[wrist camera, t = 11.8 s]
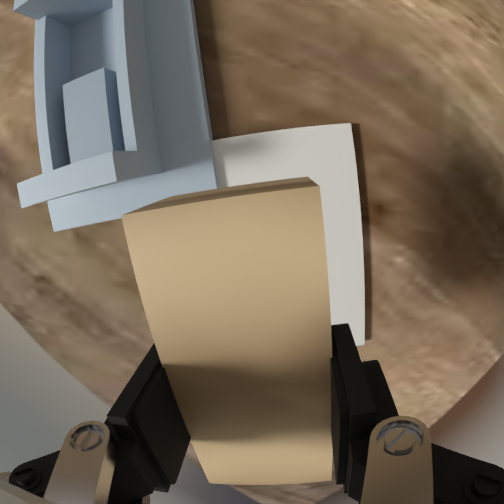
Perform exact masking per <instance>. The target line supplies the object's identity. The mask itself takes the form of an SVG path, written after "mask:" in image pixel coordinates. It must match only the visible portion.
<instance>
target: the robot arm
mask: <svg viewBox="0 0 504 504" xmlns="http://www.w3.org/2000/svg"><path fill="white" fill-rule="evenodd" d="M331 336H332V358H330V369H331V437H332V447H333V456H334V466H335V476H336V484H337V485H339V484H343V485H344V493H348V496H349V497H351V498H353V499H354V500H356V501H358V502H359V504H504V469H503V468H501V467H499V466H497V465H494V464H491V463H487V462H484V461H481V460H478V459H475V458H472V457H469V456H466V455H463V454H460V453H457V452H454V451H452V450H449V449H446V448H444V447H441V446H438V445H435V444H433V443H431V436H430V432H429V429H428V428H427V426H426V425H425V424H424V423H423V422H421V421H420V420H418V419H416V418H413V417H410V416H399V415H398V412H397V409H396V406H395V404H394V401H393V398H392V395H391V393H390V390H389V387H388V385H387V382H386V379H385V377H384V374H383V371H382V369H381V366H380V364H379V362H378V360H371V361H365V362H361V360H360V357H359V353H358V350H357V347H356V344H355V341H354V338H353V335H352V332H351V329H350V326H349V324H348V323H344V324H336V325H331ZM107 417H108V418H107V419H106V421H105V423H102V422H98V421H87V422H84V423H81V424H78V425H77V426H75V427H74V428H73V429H71V430H70V432H69V433H68V435H67V436H66V438H65V441H64V443H63V446H62V448H61V450H59V451H57V452H54V453H51V454H48V455H46V456H43V457H40V458H38V459H34V460H32V461H29V462H26V463H23V464H21V465H19V466H18V467H16V468H15V469H14V470H13V472H12V473H10V472H4V473H0V504H150V494H151V493H153V491H154V490H155V491H161V492H168V491H169V488H170V485H171V484H175V483H176V480H177V478H178V475H179V472H180V469H181V466H182V463H183V460H184V457H185V454H186V451H187V448H188V445H189V442H190V439H191V437H190V434H189V432H188V429H187V427H186V424H185V422H184V419H183V417H182V414H181V412H180V409H179V407H178V404H177V401H176V399H175V396H174V393H173V390H172V388H171V385H170V382H169V379H168V376H167V373H166V371H165V368H164V367H162V364H161V361H160V358H159V355H158V352H157V349H156V346H155V343H154V344H153V346H152V347H151V349H150V350H149V352H148V353H147V355H146V356H145V358H144V359H143V361H142V362H141V364H140V365H139V367H138V368H137V370H136V371H135V373H134V374H133V376H132V377H131V379H130V381H129V382H128V384H127V385H126V387H125V388H124V390H123V391H122V393H121V394H120V396H119V397H118V399H117V400H116V402H115V404H114V405H113V407H112V408H111V410H110V411H109V413H108V414H107Z"/></svg>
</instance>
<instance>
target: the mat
mask: <svg viewBox="0 0 504 504" xmlns="http://www.w3.org/2000/svg"><path fill="white" fill-rule="evenodd" d="M211 142H212V148H213V155H214V161H215V167H216V174H217V180H218V186H219V188H224V187H231V186H238V185H245V184H252V183H259V182H267V181H275V180H283V179H291V178H299V177H309V178H310V179H311V180H313V181H314V182H315V183H317V184H318V185H319V186H320V194H321V203H322V212H323V222H324V232H325V243H326V255H327V267H328V281H329V296H330V314H331V325H336V324H344V323H348V324H349V326H350V329H351V332H352V335H353V338H354V341H355V344H356V346H358V345H364V342H365V285H364V255H363V236H362V221H361V208H360V196H359V186H358V176H357V167H356V158H355V150H354V142H353V135H352V128H351V123H344V124H331V125H320V126H310V127H301V128H292V129H284V130H276V131H268V132H261V133H254V134H248V135H241V136H235V137H229V138H223V139H218V140H212V141H211Z"/></svg>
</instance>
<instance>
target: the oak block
mask: <svg viewBox="0 0 504 504" xmlns="http://www.w3.org/2000/svg"><path fill="white" fill-rule="evenodd" d="M121 216H122V221H123V226H124V230H125V235H126V239H127V244H128V248H129V252H130V257H131V261H132V265H133V269H134V273H135V277H136V281H137V284H138V288H139V292H140V295H141V299H142V303H143V306H144V310H145V313H146V317H147V320H148V323H149V327H150V330H151V333H152V336H153V340H154V343H155V346H156V349H157V352H158V355H159V358H160V361H161V364H162V367H164V368H165V371H166V373H167V376H168V379H169V382H170V385H171V388H172V390H173V393H174V396H175V399H176V401H177V404H178V407H179V409H180V412H181V414H182V417H183V419H184V422H185V424H186V427H187V429H188V432H189V434H190V437H191V439H190V441H191V443H192V445H193V448H194V450H195V452H196V454H197V457H198V459H199V461H200V463H201V466H202V468H203V470H204V472H205V474H206V477H207V479H208V481H209V483H215V484H240V485H270V484H295V483H309V482H320V481H330V480H331V477H332V448H333V447H332V437H331V369H330V358H332V336H331V314H330V296H329V281H328V267H327V255H326V243H325V232H324V222H323V212H322V203H321V194H320V186H319V185H318V184H317V183H315V182H314V181H313V180H311V179H310V178H309V177H299V178H291V179H283V180H275V181H267V182H259V183H252V184H245V185H238V186H231V187H224V188H218V189H212V190H205V191H199V192H193V193H187V194H181V195H176V196H170V197H168V198H165V199H162V200H159V201H157V202H154V203H152V204H149V205H146V206H144V207H141V208H139V209H136V210H134V211H131V212H128V213H126V214H123V215H121Z"/></svg>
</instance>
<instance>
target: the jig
mask: <svg viewBox="0 0 504 504" xmlns="http://www.w3.org/2000/svg"><path fill="white" fill-rule="evenodd" d="M13 11H15V12H18V13H20V14H23V15H26V16H29V17H31V18H34V19H36V23H35V41H34V92H35V110H36V124H37V134H38V144H39V152H40V160H41V167H42V173H43V174H41V175H38V176H36V177H33V178H30V179H28V180H25V181H23V182H20V183H18V184H17V186H18V192H19V198H20V203H21V208H24V207H28V206H31V205H35V204H38V203H42V202H45V201H47V202H48V207H49V212H50V217H51V221H52V226H53V230H54V232H55V231H60V230H64V229H69V228H74V227H79V226H84V225H89V224H94V223H99V222H104V221H109V220H114V219H120V218H122V216H121V215H123V214H126V213H128V212H131V211H134V210H136V209H139V208H141V207H144V206H146V205H149V204H152V203H154V202H157V201H159V200H162V199H165V198H168V197H170V196H176V195H181V194H187V193H193V192H199V191H205V190H212V189H218V188H219V186H218V180H217V174H216V167H215V161H214V155H213V148H212V142H211V141H212V140H213V135H212V129H211V122H210V116H209V109H208V102H207V95H206V88H205V82H204V75H203V68H202V60H201V53H200V46H199V39H198V31H197V24H196V16H195V9H194V1H193V0H15V2H14V9H13Z"/></svg>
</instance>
